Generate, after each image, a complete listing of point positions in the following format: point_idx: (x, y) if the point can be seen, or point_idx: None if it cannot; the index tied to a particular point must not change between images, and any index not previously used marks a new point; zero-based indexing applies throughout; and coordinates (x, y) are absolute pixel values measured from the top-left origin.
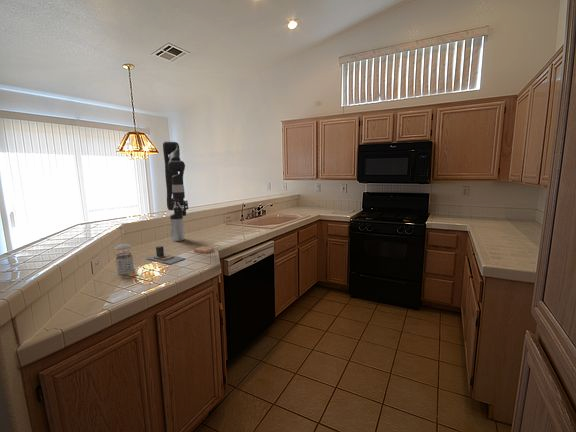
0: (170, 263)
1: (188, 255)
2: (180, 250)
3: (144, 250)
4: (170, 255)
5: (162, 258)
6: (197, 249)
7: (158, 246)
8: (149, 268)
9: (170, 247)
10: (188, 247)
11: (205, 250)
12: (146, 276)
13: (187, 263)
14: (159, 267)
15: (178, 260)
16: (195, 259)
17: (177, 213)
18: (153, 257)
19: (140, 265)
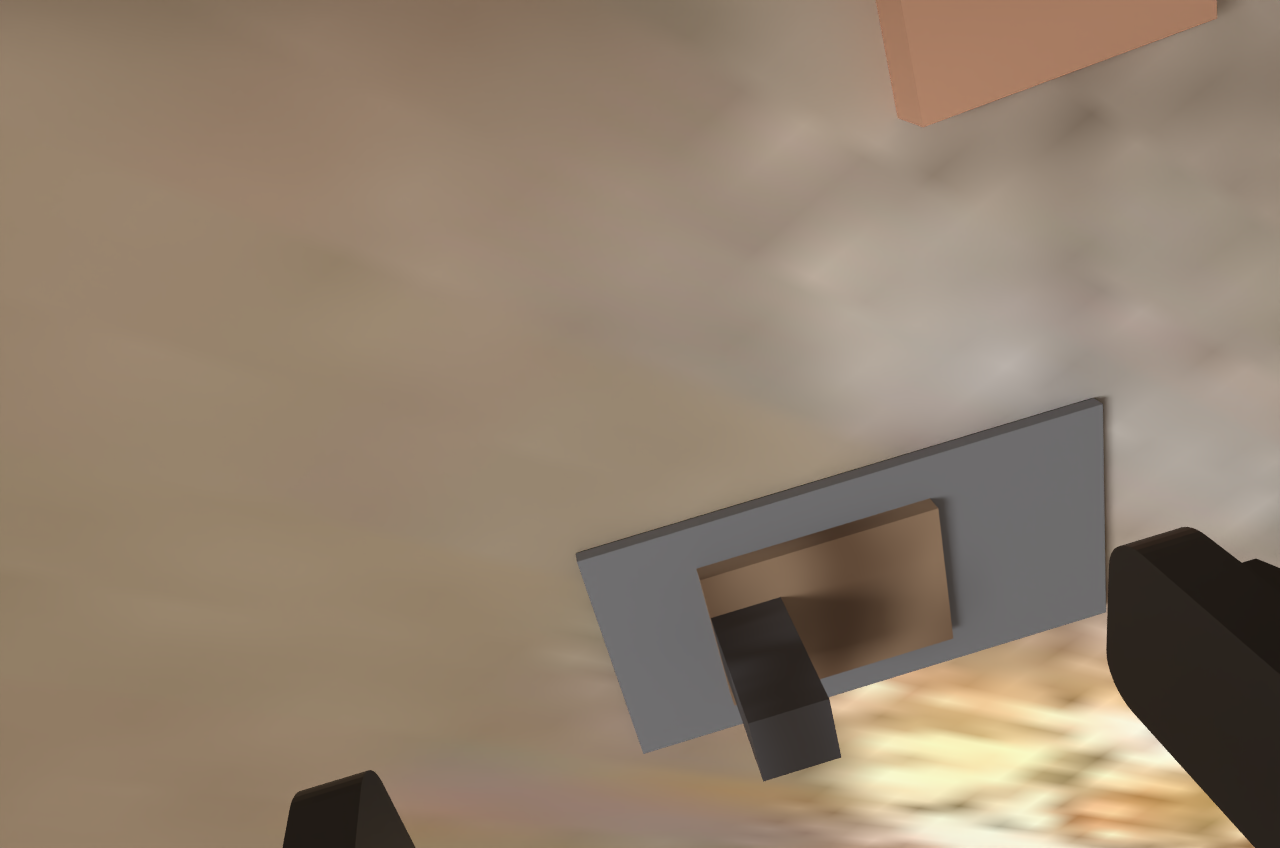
0: (1104, 604)
1: (974, 282)
2: (569, 253)
3: (91, 686)
4: (784, 504)
5: (890, 643)
6: (994, 84)
7: (766, 749)
8: (1006, 776)
9: (180, 307)
10: (466, 24)
11: (1193, 4)
12: (1183, 826)
13: (1259, 442)
14: (1072, 702)
15: (1097, 501)
16: (1233, 294)
17: (373, 825)
18: (681, 688)
19: (826, 821)
